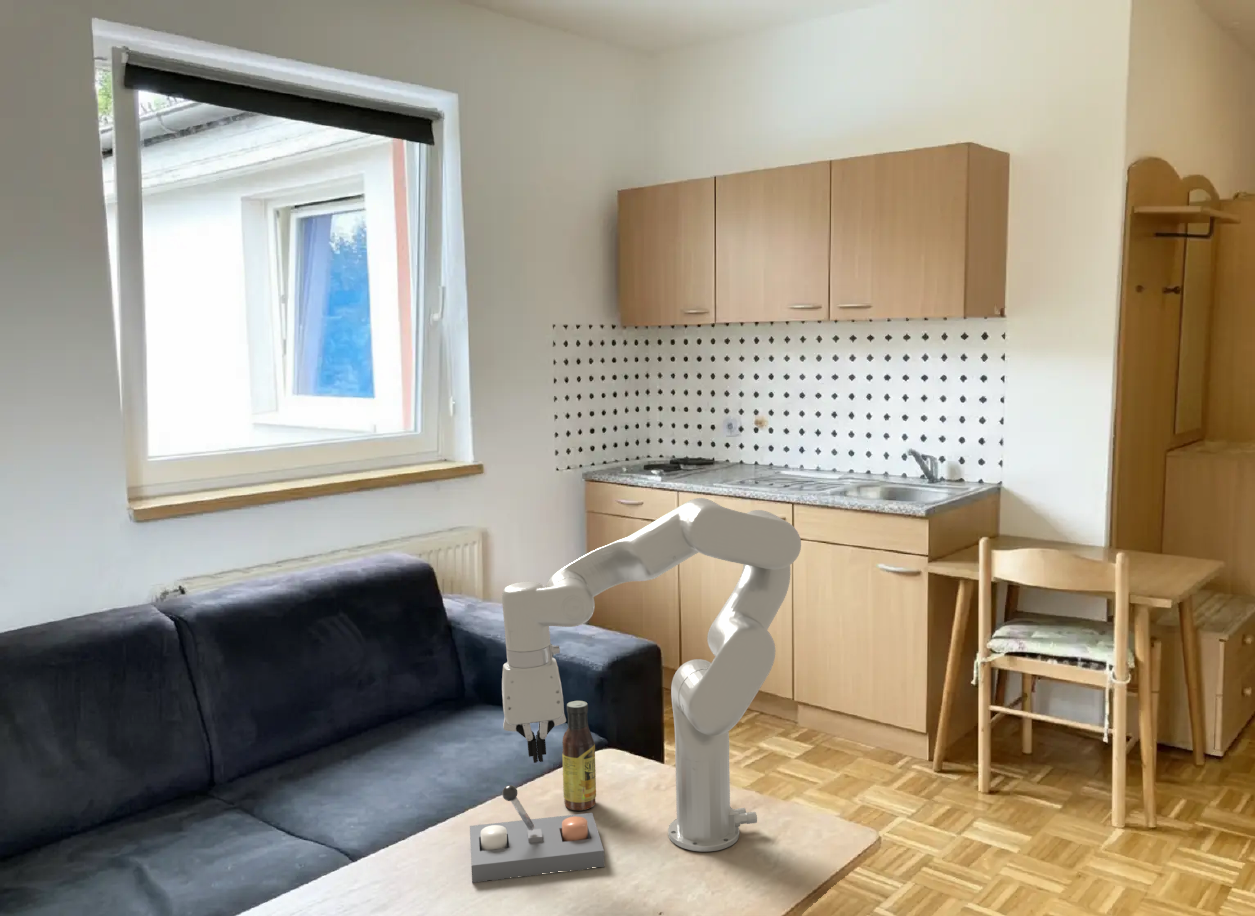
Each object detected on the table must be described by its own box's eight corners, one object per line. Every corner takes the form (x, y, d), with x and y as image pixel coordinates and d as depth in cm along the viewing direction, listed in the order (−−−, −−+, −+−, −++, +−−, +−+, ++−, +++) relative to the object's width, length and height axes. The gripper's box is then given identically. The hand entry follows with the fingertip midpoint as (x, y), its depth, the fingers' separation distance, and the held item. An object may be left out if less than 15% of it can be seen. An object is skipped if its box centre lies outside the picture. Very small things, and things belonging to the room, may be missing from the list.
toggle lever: (538, 822, 175) (512, 779, 173) (540, 829, 172) (513, 786, 170) (525, 830, 174) (499, 787, 173) (526, 837, 172) (499, 794, 170)
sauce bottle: (592, 813, 188) (588, 711, 186) (560, 811, 190) (556, 709, 187) (600, 798, 195) (596, 699, 192) (568, 796, 196) (565, 697, 194)
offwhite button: (506, 843, 175) (505, 823, 175) (508, 855, 171) (507, 835, 170) (481, 845, 174) (480, 826, 174) (481, 858, 170) (481, 838, 170)
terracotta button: (586, 834, 177) (585, 815, 177) (589, 846, 173) (588, 826, 173) (561, 836, 177) (560, 818, 176) (564, 849, 172) (563, 829, 172)
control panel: (592, 828, 183) (592, 808, 182) (604, 867, 169) (603, 845, 168) (470, 841, 179) (469, 821, 178) (472, 882, 165) (471, 860, 165)
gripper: (570, 644, 175) (578, 745, 177) (484, 654, 172) (493, 756, 175) (575, 657, 167) (583, 762, 170) (485, 668, 165) (494, 774, 167)
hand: (537, 759), depth 172 cm, fingers closed
